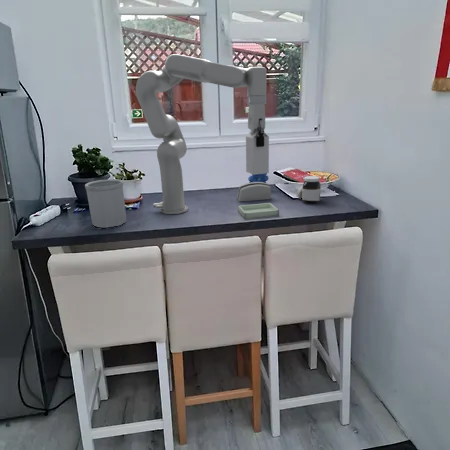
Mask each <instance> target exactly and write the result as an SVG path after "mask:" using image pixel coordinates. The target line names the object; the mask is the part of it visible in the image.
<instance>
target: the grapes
mask: <svg viewBox="0 0 450 450" xmlns="http://www.w3.org/2000/svg"><path fill="white" fill-rule="evenodd" d="M269 178H270V177H269V175H268V173H264V174H255V175H253V174H251V175H249V177H248V183H251V182H263V183H267V181H268V180H269Z"/></svg>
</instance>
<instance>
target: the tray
mask: <svg viewBox="0 0 450 450" xmlns="http://www.w3.org/2000/svg"><path fill="white" fill-rule="evenodd" d="M237 212H238V214H240V215H241V217H242V218H243V219H244V220H250V219H251V220H252V219H259V218H272V217H279V216H280V210H279V209H278V208H277V207H276V206H275V205H273V204H272V202H265V203H257V204H256V203H253V204H244V205H237Z"/></svg>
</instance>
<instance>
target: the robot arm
mask: <svg viewBox="0 0 450 450" xmlns="http://www.w3.org/2000/svg"><path fill="white" fill-rule="evenodd" d="M184 79H185V80H189V81H195V82H200V83H208V84H213V85H218V86H223V87H228V88H234V89H235V88H236V89H239V88H244V87H247V88H246V89H247V92H246V93H247V95H246V96H247V102H246V103H247V105H248V111H247V128H248V129H249V130H250V131H251V130H255V129H256V133H257V137H256V147H264V133H265V129H266V109H265V108H266V105H267V68H266V67H265V66H251V67H248V68H247V67H239V66H234V65H228V64H223V63H218V62H212V61H210V60H208V59H205V58H198V57H193V56H188V55H183V54H178V53H173V54H170V55H169V56H167V58H166V59H165V61H164V67H163V68H162V69H160V70H147V71H145V72H143V73H142V74H141V75H140V76H139V77H138V79H137V81H136V84H135V95H136V99H137V102H138V103H139V105H140V109H141V110H142V113H143V116H144V118H145V121H146V122H147V125H148V126H147V127H148V128H149V132H150V133H151V134H152V136H153V137H154V138H155V139H158V140H159V139H162V140H163V141H162V142H161V143H160V144H159V145H158V147H157V149H156V157H157V161H158V166H159V171H160V180H161V181H160V182H161V193H162V201H160V202H157V203H155V202H154V203H153V205H152V206H153V208H154V209H155V208H156V209H159V210H160V213H161V214H165V215H179V214H183V213H186V212H188V211H189V206H188V205H185V194H184V181H183V180H184V179H183V178H184V177H183V169H182V164H181V160H180V159H182V158H183V157H184V156H185V155H186V153H187V149H188V148H187V144H186V140H185V138H184V135H183V133H182V130H181V128H180V125H179V123H178V121H177V119H176V118H175V117H174V116H172V115H170V114H166V112H165V109H164V107H163V104H162V102H161V101H160V99H159V97H158V95H157V94H158V93H165V92H167V91H169V90H171V89H172V88H173V87H174V86H176V85H177V84H179V83H180V82H182V81H184ZM258 128H260V129H258ZM258 131H259V132H258Z"/></svg>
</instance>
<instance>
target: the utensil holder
mask: <svg viewBox="0 0 450 450" xmlns="http://www.w3.org/2000/svg"><path fill="white" fill-rule="evenodd" d="M84 188H85V190H86V195H87V201H88V206H89V213H90V217H91V218H90V219H91V223H92V226H93V225H94V226H97V227H110V226H117V225H121V224H123V223H125V222H126V223H127V216H126V215H127V212H126V204H125V196H124V195H125V194H124V181H123V180H121V179H118V178H117V179H115V178H111V179H110V178H109V179H100V180H99V179H98V180H93V181H89V182H87V183H85V184H84ZM126 223H125V224H126ZM123 225H124V224H123ZM94 226H93V227H94ZM121 226H122V225H121Z"/></svg>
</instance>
